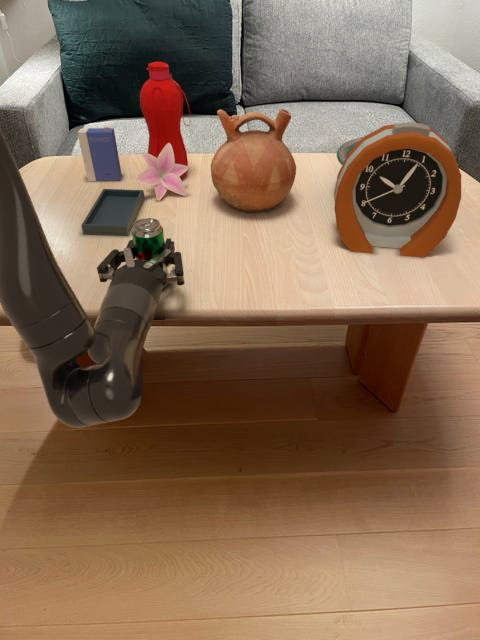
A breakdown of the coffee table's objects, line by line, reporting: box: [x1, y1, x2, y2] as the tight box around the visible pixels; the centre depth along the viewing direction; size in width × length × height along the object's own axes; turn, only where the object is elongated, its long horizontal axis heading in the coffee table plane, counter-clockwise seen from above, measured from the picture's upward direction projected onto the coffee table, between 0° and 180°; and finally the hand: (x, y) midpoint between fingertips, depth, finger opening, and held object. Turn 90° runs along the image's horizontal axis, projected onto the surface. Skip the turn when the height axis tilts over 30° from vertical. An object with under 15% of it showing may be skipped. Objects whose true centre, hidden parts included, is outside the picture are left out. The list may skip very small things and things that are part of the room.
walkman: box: [76, 126, 122, 182], centre depth 111 cm, size 8×3×12 cm, turn 92°
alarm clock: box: [333, 121, 462, 258], centre depth 87 cm, size 22×10×23 cm, turn 82°
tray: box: [80, 188, 145, 237], centre depth 100 cm, size 16×9×2 cm, turn 177°
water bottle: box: [139, 61, 192, 180], centre depth 108 cm, size 9×11×25 cm
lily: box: [134, 143, 189, 202], centre depth 107 cm, size 12×12×10 cm
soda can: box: [131, 217, 170, 290], centre depth 79 cm, size 5×5×12 cm
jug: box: [210, 108, 297, 214], centre depth 100 cm, size 18×18×20 cm
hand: (153, 242), depth 80 cm, fingers closed on soda can, 5 cm apart
